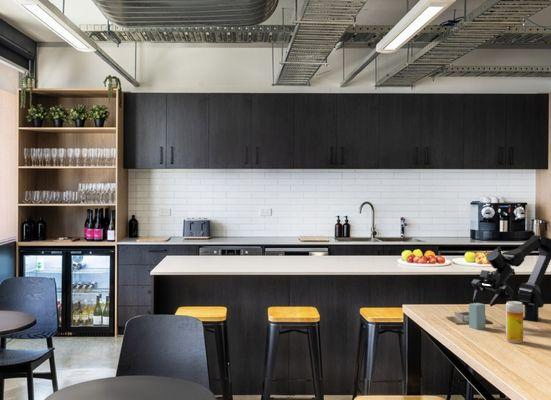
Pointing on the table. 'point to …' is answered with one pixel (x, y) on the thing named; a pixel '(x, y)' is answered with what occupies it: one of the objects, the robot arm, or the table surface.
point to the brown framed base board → (463, 318)
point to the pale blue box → (477, 316)
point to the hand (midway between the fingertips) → (481, 303)
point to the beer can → (514, 322)
